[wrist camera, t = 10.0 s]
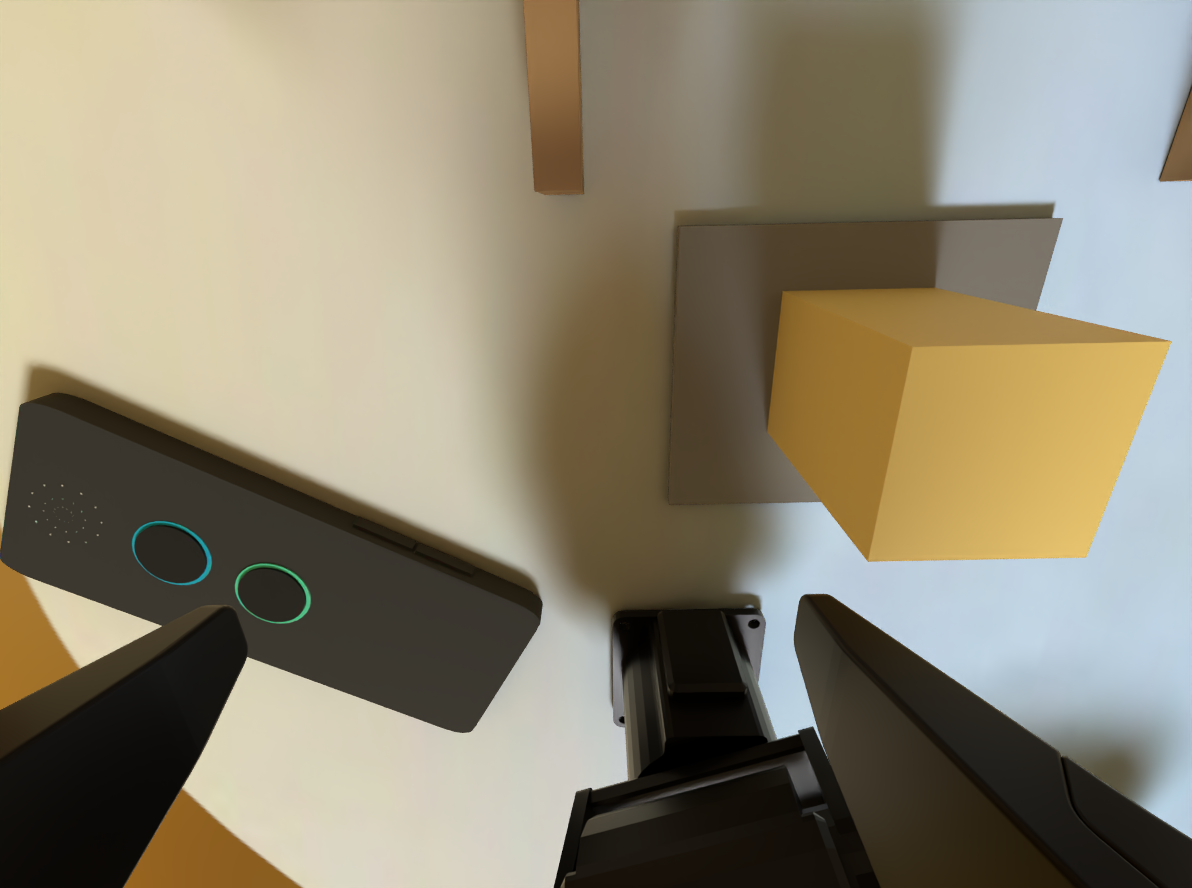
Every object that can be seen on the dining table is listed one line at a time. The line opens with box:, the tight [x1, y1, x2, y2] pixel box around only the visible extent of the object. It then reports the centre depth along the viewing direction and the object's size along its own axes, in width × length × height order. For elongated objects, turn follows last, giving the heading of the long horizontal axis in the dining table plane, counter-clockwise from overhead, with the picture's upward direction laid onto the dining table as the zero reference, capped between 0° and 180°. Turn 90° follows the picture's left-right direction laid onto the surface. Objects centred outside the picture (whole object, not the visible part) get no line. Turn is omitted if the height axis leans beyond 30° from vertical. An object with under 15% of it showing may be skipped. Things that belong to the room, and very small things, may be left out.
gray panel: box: [668, 218, 1063, 505], centre depth 19 cm, size 10×12×1 cm
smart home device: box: [0, 393, 543, 733], centre depth 23 cm, size 8×2×20 cm
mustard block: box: [767, 288, 1171, 562], centre depth 15 cm, size 5×5×8 cm
